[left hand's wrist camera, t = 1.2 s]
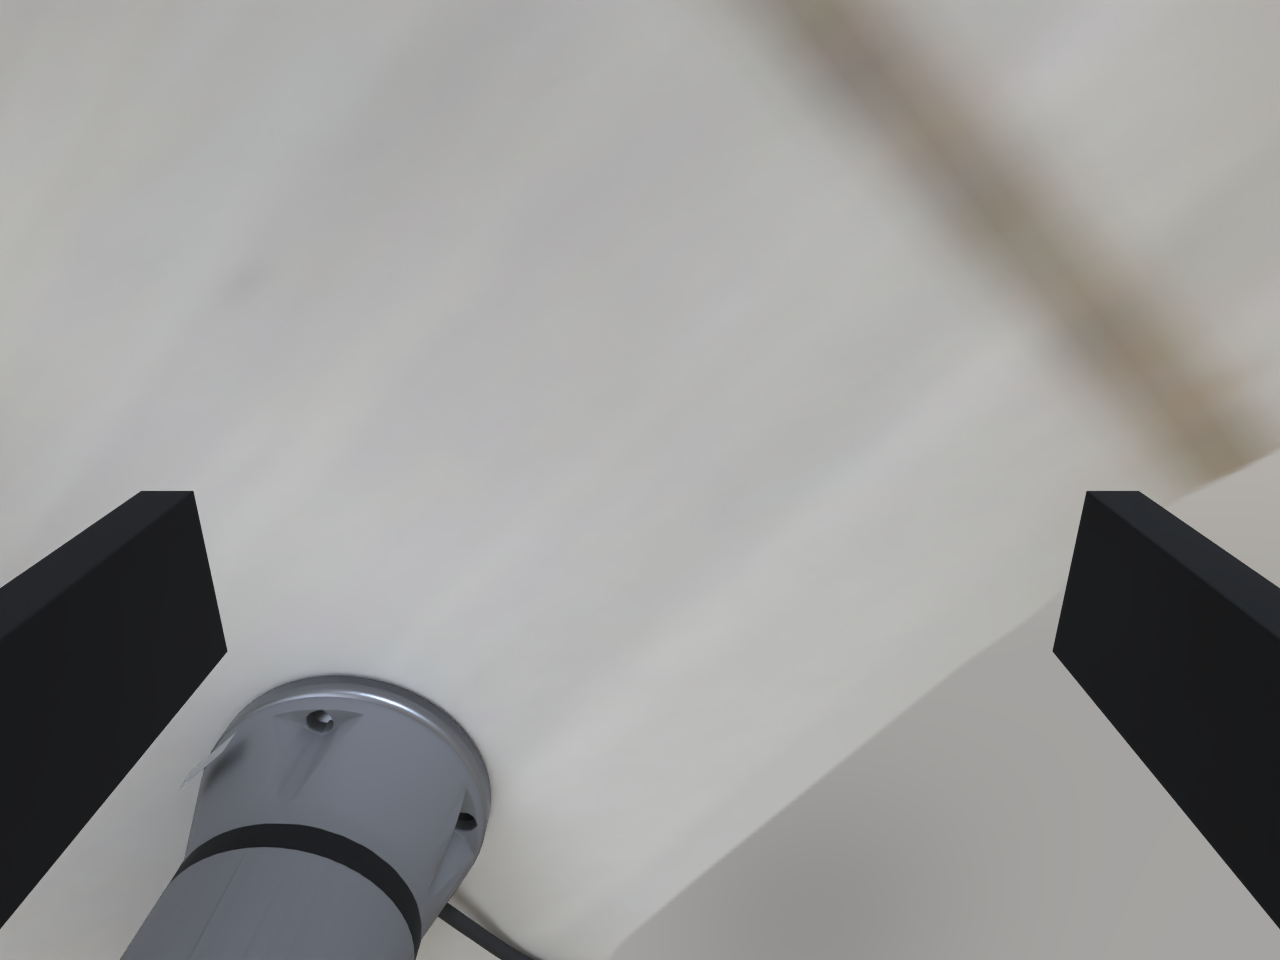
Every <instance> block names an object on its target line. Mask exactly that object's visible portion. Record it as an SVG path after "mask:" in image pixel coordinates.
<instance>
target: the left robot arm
mask: <svg viewBox="0 0 1280 960" xmlns="http://www.w3.org/2000/svg"><path fill="white" fill-rule="evenodd" d="M226 652H227V647H226V642H225V638H224V633H223V628H222V624H221V619H220V614H219V609H218V605H217V600H216V595H215V591H214V586H213V581H212V577H211V572H210V567H209V562H208V558H207V553H206V548H205V544H204V539H203V534H202V529H201V525H200V520H199V515H198V511H197V506H196V501H195V497H194V492H193V491H141V492H139V493H138V494H136V495H135V496H133V497H132V498H130V499H129V500H128V501H126V502H125V503H123V504H122V505H120V506H119V507H117V508H116V509H115V510H113V511H112V512H110V513H109V514H107V515H106V516H104V517H103V518H101V519H100V520H99V521H97V522H96V523H94V524H93V525H91V526H90V527H88V528H87V529H86V530H84V531H83V532H81V533H80V534H78V535H77V536H75V537H74V538H72V539H71V540H70V541H68V542H67V543H65V544H64V545H62V546H61V547H59V548H58V549H57V550H55V551H54V552H52V553H51V554H49V555H48V556H46V557H45V558H43V559H42V560H41V561H39V562H38V563H36V564H35V565H33V566H32V567H30V568H29V569H28V570H26V571H25V572H23V573H22V574H20V575H19V576H17V577H16V578H14V579H13V580H12V581H10V582H9V583H7V584H6V585H4V586H3V587H1V588H0V929H1V927H2V926H3V925H4V924H5V923H6V921H7V920H8V919H9V918H10V916H11V915H12V914H13V913H14V912H15V910H16V909H17V908H18V907H19V905H20V904H21V903H22V902H23V901H24V899H25V898H26V897H27V896H28V894H29V893H30V892H31V891H32V890H33V888H34V887H35V886H36V885H37V883H38V882H39V881H40V880H41V879H42V877H43V876H44V875H45V874H46V872H47V871H48V870H49V869H50V868H51V866H52V865H53V864H54V863H55V861H56V860H57V859H58V858H59V857H60V855H61V854H62V853H63V852H64V850H65V849H66V848H67V847H68V846H69V844H70V843H71V842H72V841H73V839H74V838H75V837H76V836H77V835H78V833H79V832H80V831H81V830H82V828H83V827H84V826H85V825H86V824H87V822H88V821H89V820H90V819H91V817H92V816H93V815H94V814H95V813H96V811H97V810H98V809H99V808H100V806H101V805H102V804H103V803H104V802H105V800H106V799H107V798H108V797H109V795H110V794H111V793H112V792H113V791H114V789H115V788H116V787H117V786H118V784H119V783H120V782H121V781H122V780H123V778H124V777H125V776H126V775H127V773H128V772H129V771H130V770H131V769H132V767H133V766H134V765H135V764H136V762H137V761H138V760H139V759H140V758H141V756H142V755H143V754H144V753H145V751H146V750H147V749H148V748H149V747H150V745H151V744H152V743H153V742H154V740H155V739H156V738H157V737H158V736H159V734H160V733H161V732H162V731H163V729H164V728H165V727H166V726H167V725H168V723H169V722H170V721H171V720H172V718H173V717H174V716H175V715H176V714H177V712H178V711H179V710H180V709H181V707H182V706H183V705H184V704H185V703H186V701H187V700H188V699H189V698H190V696H191V695H192V694H193V693H194V692H195V690H196V689H197V688H198V687H199V685H200V684H201V683H202V682H203V681H204V679H205V678H206V677H207V676H208V674H209V673H210V672H211V671H212V670H213V668H214V667H215V666H216V665H217V663H218V662H219V661H220V660H221V659H222V657H223V656H224V655H225V654H226ZM1053 652H1054V654H1055V655H1056V656H1057V657H1058V659H1059V660H1060V661H1061V662H1062V663H1063V665H1064V666H1065V667H1066V668H1067V670H1068V671H1069V672H1070V673H1071V674H1072V676H1073V677H1074V678H1075V679H1076V680H1077V682H1078V683H1079V684H1080V685H1081V687H1082V688H1083V689H1084V690H1085V691H1086V693H1087V694H1088V695H1089V696H1090V698H1091V699H1092V700H1093V701H1094V703H1095V704H1096V705H1097V706H1098V707H1099V709H1100V710H1101V711H1102V712H1103V714H1104V715H1105V716H1106V717H1107V718H1108V720H1109V721H1110V722H1111V723H1112V725H1113V726H1114V727H1115V728H1116V729H1117V731H1118V732H1119V733H1120V734H1121V736H1122V737H1123V738H1124V739H1125V740H1126V742H1127V743H1128V744H1129V745H1130V747H1131V748H1132V749H1133V750H1134V751H1135V753H1136V754H1137V755H1138V756H1139V758H1140V759H1141V760H1142V761H1143V762H1144V764H1145V765H1146V766H1147V767H1148V768H1149V770H1150V771H1151V772H1152V773H1153V775H1154V776H1155V777H1156V778H1157V780H1158V781H1159V782H1160V783H1161V784H1162V786H1163V787H1164V788H1165V789H1166V791H1167V792H1168V793H1169V794H1170V795H1171V797H1172V798H1173V799H1174V800H1175V801H1176V803H1177V804H1178V805H1179V806H1180V808H1181V809H1182V810H1183V811H1184V813H1185V814H1186V815H1187V816H1188V817H1189V819H1190V820H1191V821H1192V822H1193V824H1194V825H1195V826H1196V827H1197V828H1198V830H1199V831H1200V832H1201V833H1202V835H1203V836H1204V837H1205V838H1206V839H1207V841H1208V842H1209V843H1210V844H1211V845H1212V847H1213V848H1214V849H1215V850H1216V852H1217V853H1218V854H1219V855H1220V857H1221V858H1222V859H1223V860H1224V861H1225V863H1226V864H1227V865H1228V866H1229V868H1230V869H1231V870H1232V871H1233V872H1234V874H1235V875H1236V876H1237V877H1238V879H1239V880H1240V881H1241V882H1242V883H1243V885H1244V886H1245V887H1246V888H1247V890H1248V891H1249V892H1250V893H1251V894H1252V896H1253V897H1254V898H1255V899H1256V901H1257V902H1258V903H1259V904H1260V905H1261V907H1262V908H1263V909H1264V910H1265V912H1266V913H1267V914H1268V915H1269V916H1270V918H1271V919H1272V920H1273V921H1274V923H1275V924H1276V925H1277V926H1278V927H1279V929H1280V588H1279V587H1277V586H1276V585H1274V584H1273V583H1271V582H1270V581H1268V580H1267V579H1266V578H1264V577H1263V576H1261V575H1260V574H1258V573H1257V572H1255V571H1254V570H1252V569H1251V568H1249V567H1248V566H1247V565H1245V564H1244V563H1242V562H1241V561H1239V560H1238V559H1237V558H1235V557H1234V556H1232V555H1231V554H1229V553H1228V552H1226V551H1225V550H1223V549H1222V548H1221V547H1219V546H1218V545H1216V544H1215V543H1213V542H1212V541H1210V540H1209V539H1208V538H1206V537H1205V536H1203V535H1202V534H1200V533H1199V532H1197V531H1196V530H1194V529H1193V528H1192V527H1190V526H1189V525H1187V524H1186V523H1184V522H1183V521H1181V520H1180V519H1179V518H1177V517H1176V516H1174V515H1173V514H1171V513H1170V512H1168V511H1167V510H1165V509H1164V508H1163V507H1161V506H1160V505H1158V504H1157V503H1155V502H1154V501H1152V500H1151V499H1150V498H1148V497H1147V496H1145V495H1144V494H1142V493H1141V492H1139V491H1087V492H1086V497H1085V501H1084V506H1083V511H1082V515H1081V520H1080V525H1079V529H1078V534H1077V539H1076V544H1075V548H1074V553H1073V558H1072V562H1071V567H1070V572H1069V576H1068V581H1067V586H1066V591H1065V595H1064V600H1063V605H1062V609H1061V614H1060V619H1059V624H1058V628H1057V633H1056V638H1055V642H1054V647H1053Z"/></svg>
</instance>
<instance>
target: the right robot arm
mask: <svg viewBox="0 0 1280 960" xmlns="http://www.w3.org/2000/svg"><path fill="white" fill-rule="evenodd" d="M204 767H205V769H204V772H203V776H202V779H201V784H200V789H199V793H198V798H197V803H196V807H195V812H194V817H193V821H192V826H191V830H190V835H189V840H188V844H187V849H186V854H185V858H184V861H183V863H182V864H181V866H180V868H179V869H178V871H177V872H176V874H175V875H174V877H173V879H172V880H171V882H170V883H169V885H168V887H167V888H166V889H165V890H164V892H163V893H162V895H161V897H160V898H159V900H158V901H157V903H156V904H155V906H154V907H153V909H152V911H151V912H150V914H149V915H148V917H147V918H146V920H145V921H144V923H143V925H142V926H141V928H140V929H139V931H138V932H137V934H136V935H135V937H134V939H133V940H132V942H131V943H130V945H129V946H128V948H127V949H126V951H125V953H124V954H123V956H122V957H121V959H120V960H416V956H417V953H418V949H419V946H420V942H421V939H422V938H423V936H424V935H425V933H426V932H427V931H428V929H429V928H430V926H431V925H432V923H433V922H434V921H435V919H436V918H437V916H438V917H439V918H441V919H442V920H444V921H445V922H446V923H448V924H449V925H451V926H452V927H454V928H455V929H457V930H458V931H459V932H461V933H462V934H464V935H465V936H467V937H468V938H470V939H471V940H473V941H474V942H476V943H477V944H479V945H480V946H481V947H483V948H484V949H486V950H487V951H489V952H490V953H492V954H493V955H495V956H496V957H498V958H500V959H501V960H533V959H531V958H529V957H527V956H526V955H524V954H522V953H520V952H519V951H517V950H515V949H514V948H512V947H511V946H509V945H508V944H506V943H504V942H503V941H501V940H500V939H499V938H497V937H496V936H494V935H493V934H491V933H490V932H488V931H487V930H486V929H484V928H483V927H481V926H480V925H479V924H477V923H476V922H474V921H473V920H471V919H470V918H468V917H467V916H466V915H464V914H463V913H461V912H460V911H459V910H457V909H456V908H454V907H453V906H452V905H450V904H449V903H447V902H448V901H449V899H450V898H451V896H452V895H453V893H454V892H455V891H456V889H457V888H458V886H459V885H460V883H461V882H462V881H463V879H464V878H465V876H466V875H467V873H468V872H469V870H470V869H471V867H472V865H473V864H474V862H475V860H476V858H477V856H478V854H479V852H480V849H481V846H482V843H483V839H484V835H485V831H486V826H487V822H488V817H489V812H490V803H491V794H490V785H489V779H488V775H487V772H486V768H485V766H484V763H483V761H482V759H481V757H480V755H479V753H478V751H477V749H476V748H475V746H474V745H473V743H472V742H471V740H470V739H469V737H468V736H467V735H466V734H465V733H464V731H463V730H462V729H461V728H460V727H459V726H458V725H457V724H456V723H455V722H454V721H453V720H452V719H451V718H450V717H448V716H447V715H446V714H445V713H444V712H442V711H441V710H440V709H438V708H437V707H435V706H434V705H432V704H431V703H429V702H428V701H426V700H424V699H422V698H420V697H419V696H417V695H415V694H413V693H410V692H408V691H406V690H404V689H401V688H398V687H395V686H393V685H390V684H386V683H383V682H379V681H375V680H370V679H364V678H357V677H346V676H328V677H316V678H309V679H303V680H299V681H295V682H291V683H288V684H285V685H283V686H280V687H277V688H275V689H273V690H271V691H269V692H267V693H265V694H263V695H262V696H260V697H258V698H257V699H255V700H254V701H253V702H251V703H250V704H249V705H247V706H246V707H245V708H244V709H243V710H242V711H241V712H240V713H239V714H238V715H237V717H236V718H235V719H234V720H233V721H232V723H231V724H230V725H229V727H228V728H227V730H226V731H225V732H224V734H223V735H222V737H221V738H220V739H219V741H218V742H217V744H216V745H215V747H214V748H213V750H212V752H211V754H210V755H209V756H208V757H206V758H205V759H204V760H203V761H202V762H201V763H199V764H198V765H197V766H196V767H195V768H194V769H193V770H192V771H191V773H190V774H189V775H188V777H187V778H186V779H185V781H184V782H183V784H182V785H181V786H180V788H181V787H182V786H183V785H185V784H186V783H187V782H188V781H189V780H190V779H192V778H193V777H194V776H195V775H196V774H197V773H199V772H200V771H201V770H202V769H203V768H204ZM180 788H179V789H180ZM179 789H178V790H179Z"/></svg>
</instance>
